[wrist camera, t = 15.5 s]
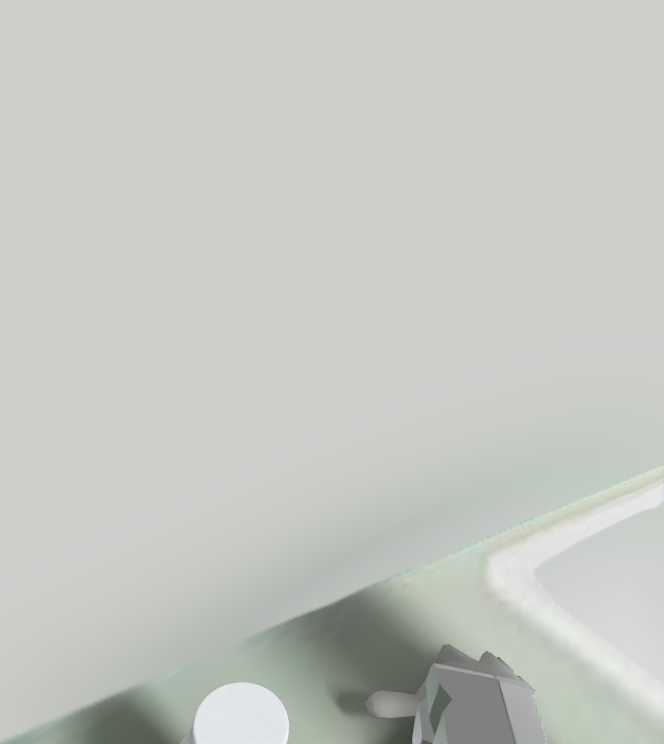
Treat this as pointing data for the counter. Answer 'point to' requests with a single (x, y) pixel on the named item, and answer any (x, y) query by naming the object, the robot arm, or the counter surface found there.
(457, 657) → the bunny figurine
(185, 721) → the counter surface
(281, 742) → the supplement bottle
